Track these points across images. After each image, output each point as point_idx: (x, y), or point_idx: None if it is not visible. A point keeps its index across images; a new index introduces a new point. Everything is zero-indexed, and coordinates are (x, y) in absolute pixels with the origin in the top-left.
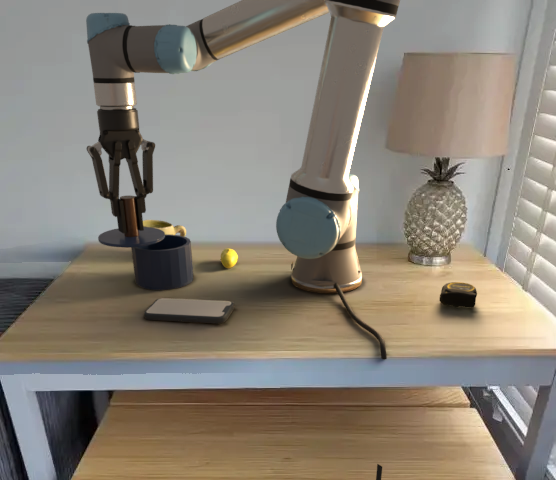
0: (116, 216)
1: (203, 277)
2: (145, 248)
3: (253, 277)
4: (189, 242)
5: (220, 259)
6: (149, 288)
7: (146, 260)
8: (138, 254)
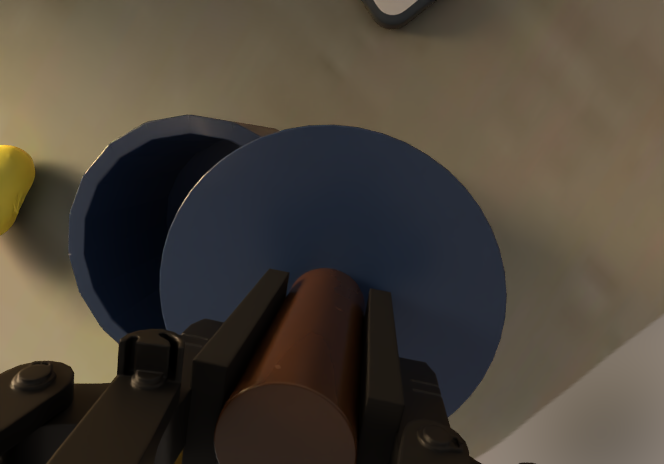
0: (418, 361)
1: None
2: None
3: (4, 30)
4: (96, 161)
5: (17, 211)
6: None
7: None
8: None
